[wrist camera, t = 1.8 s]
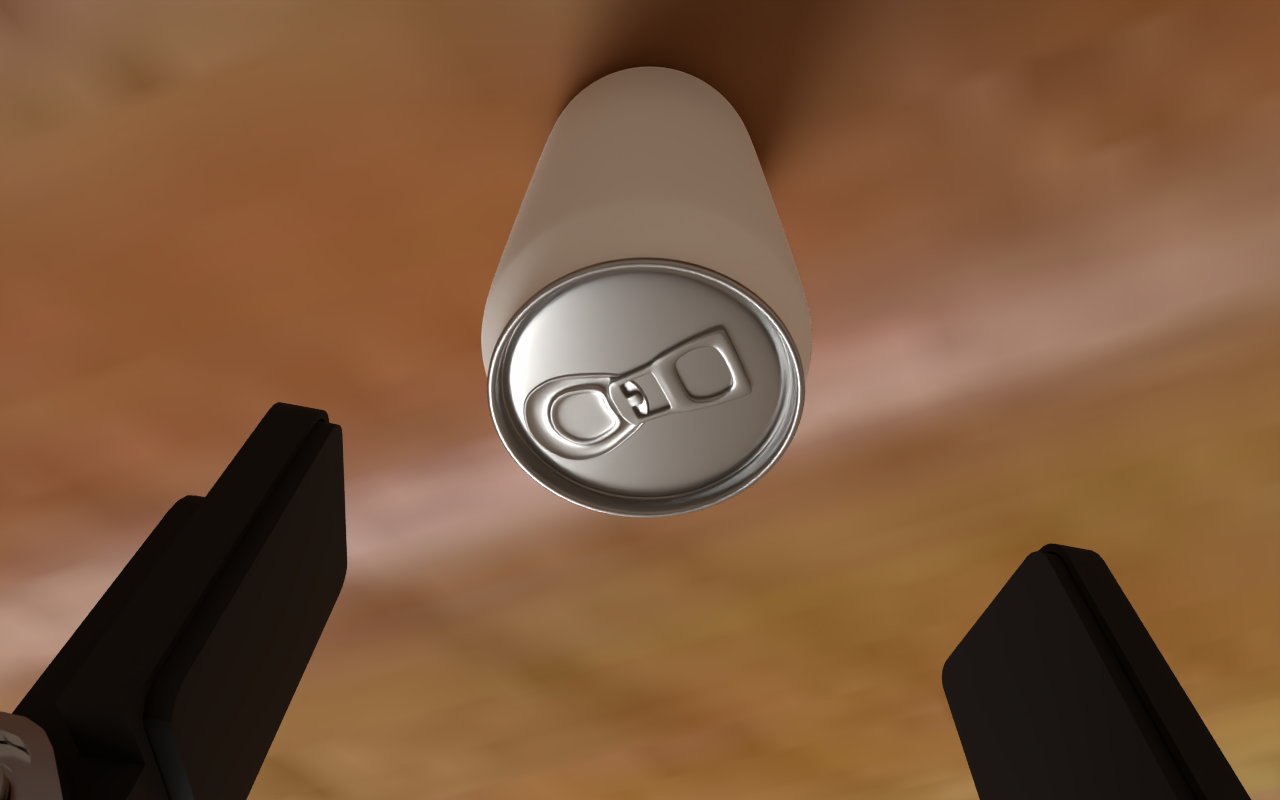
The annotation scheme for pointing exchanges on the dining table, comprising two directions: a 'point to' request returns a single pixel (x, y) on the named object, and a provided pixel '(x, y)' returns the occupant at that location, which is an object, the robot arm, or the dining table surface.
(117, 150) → the dining table surface
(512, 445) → the can
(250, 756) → the robot arm
